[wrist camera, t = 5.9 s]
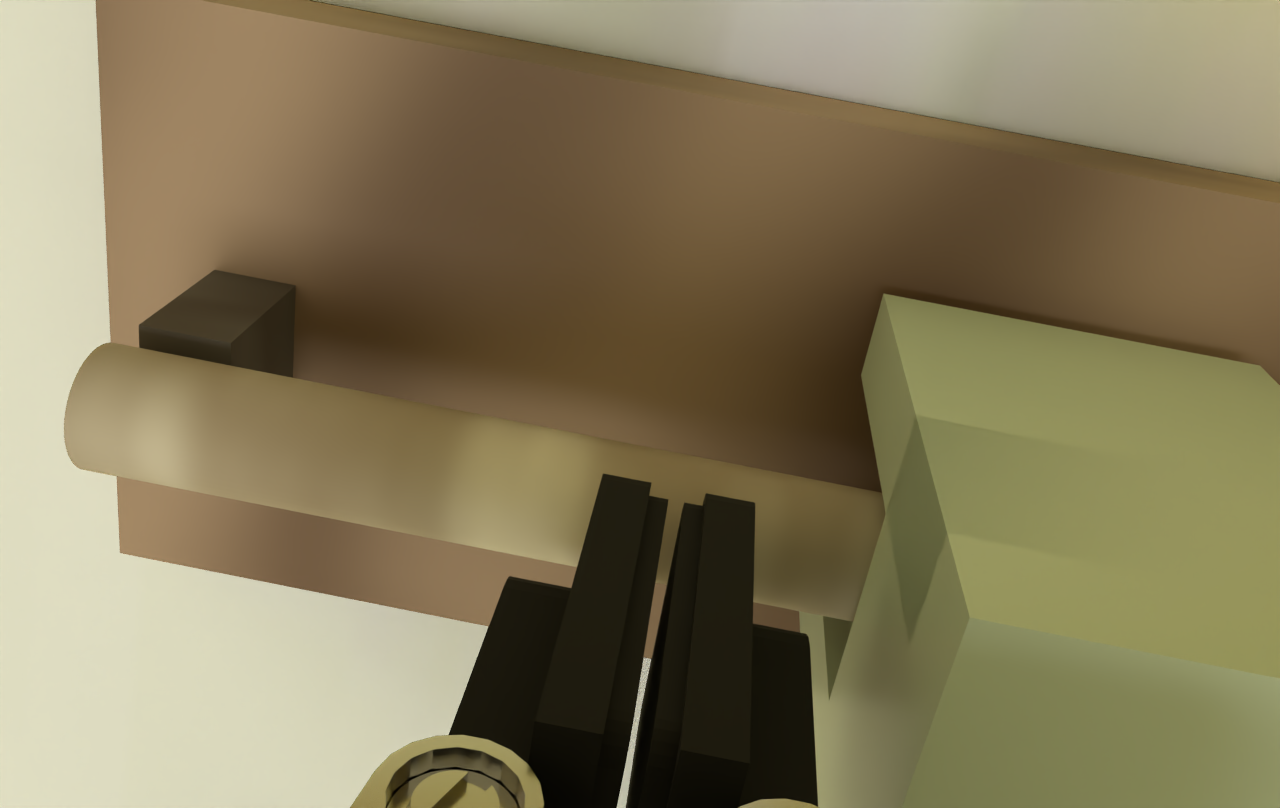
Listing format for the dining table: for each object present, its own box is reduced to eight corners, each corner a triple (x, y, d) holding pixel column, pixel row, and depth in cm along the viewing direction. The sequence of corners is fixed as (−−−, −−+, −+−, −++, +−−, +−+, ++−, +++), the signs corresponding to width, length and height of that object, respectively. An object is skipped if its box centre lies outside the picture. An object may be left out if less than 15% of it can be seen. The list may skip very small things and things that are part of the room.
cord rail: (1848, 289, 16) (2574, 574, 9) (1520, 775, 20) (1875, 1205, 13) (151, -30, 16) (-241, 37, 10) (163, 506, 20) (-113, 799, 14)
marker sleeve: (1259, 365, 15) (1635, 748, 8) (1126, 665, 17) (1345, 1153, 11) (883, 293, 15) (969, 617, 9) (798, 600, 17) (817, 1042, 11)
